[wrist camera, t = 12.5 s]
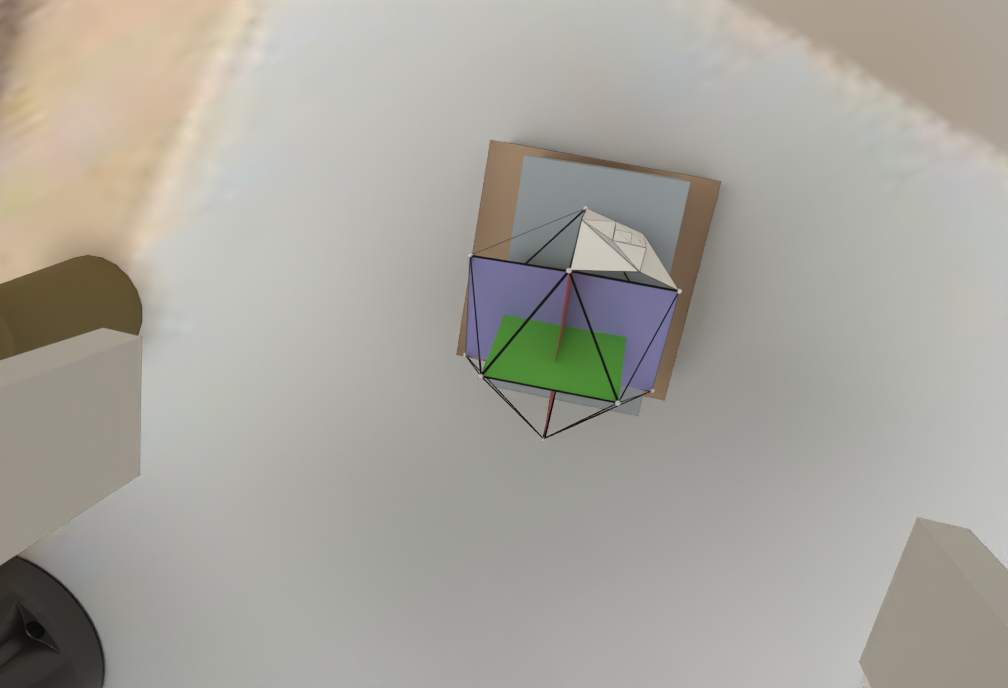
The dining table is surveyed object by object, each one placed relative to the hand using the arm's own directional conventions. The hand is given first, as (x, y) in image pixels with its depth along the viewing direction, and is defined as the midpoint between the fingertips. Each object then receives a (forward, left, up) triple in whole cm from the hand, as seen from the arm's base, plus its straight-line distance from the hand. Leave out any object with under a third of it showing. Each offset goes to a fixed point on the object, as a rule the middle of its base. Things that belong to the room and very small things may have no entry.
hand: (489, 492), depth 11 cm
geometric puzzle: (0, 0, -15) cm, 15 cm away
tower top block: (+1, +1, -20) cm, 20 cm away
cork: (-28, -8, -25) cm, 38 cm away
